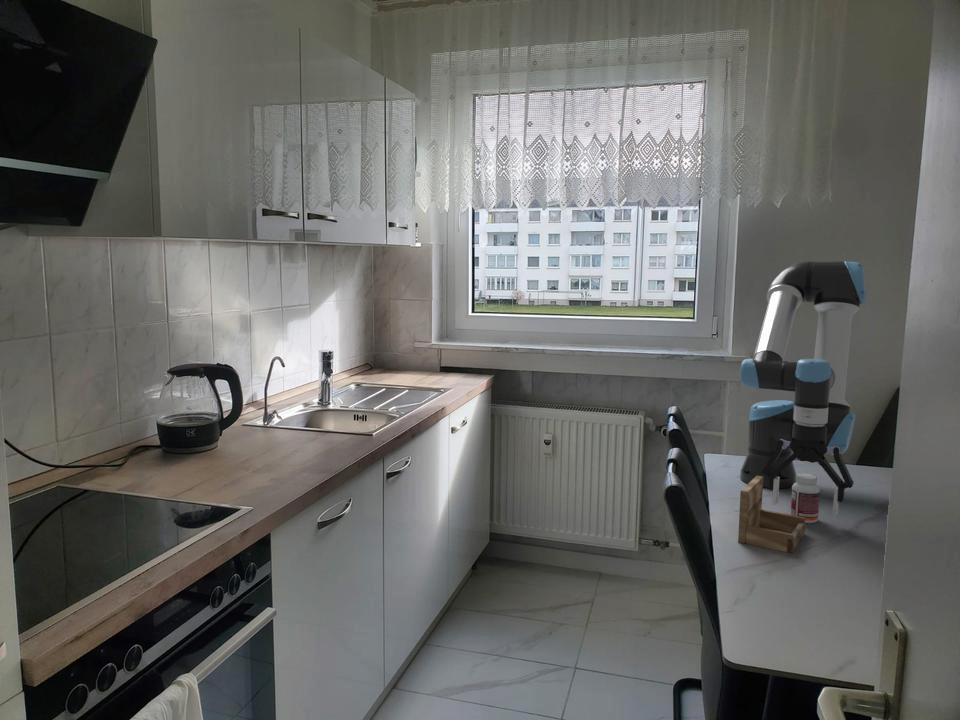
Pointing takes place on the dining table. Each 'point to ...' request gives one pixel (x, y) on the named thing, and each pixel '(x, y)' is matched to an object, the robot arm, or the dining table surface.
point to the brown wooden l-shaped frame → (766, 522)
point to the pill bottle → (805, 497)
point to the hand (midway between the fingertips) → (804, 508)
